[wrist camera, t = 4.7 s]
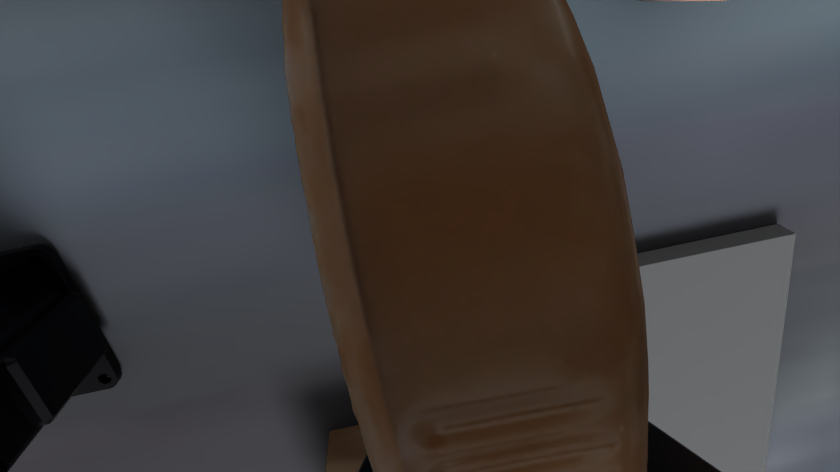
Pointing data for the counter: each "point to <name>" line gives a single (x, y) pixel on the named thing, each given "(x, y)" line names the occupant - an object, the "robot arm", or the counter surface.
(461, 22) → the tin
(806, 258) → the counter surface
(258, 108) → the counter surface
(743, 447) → the mat
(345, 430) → the walnut block
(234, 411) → the counter surface
